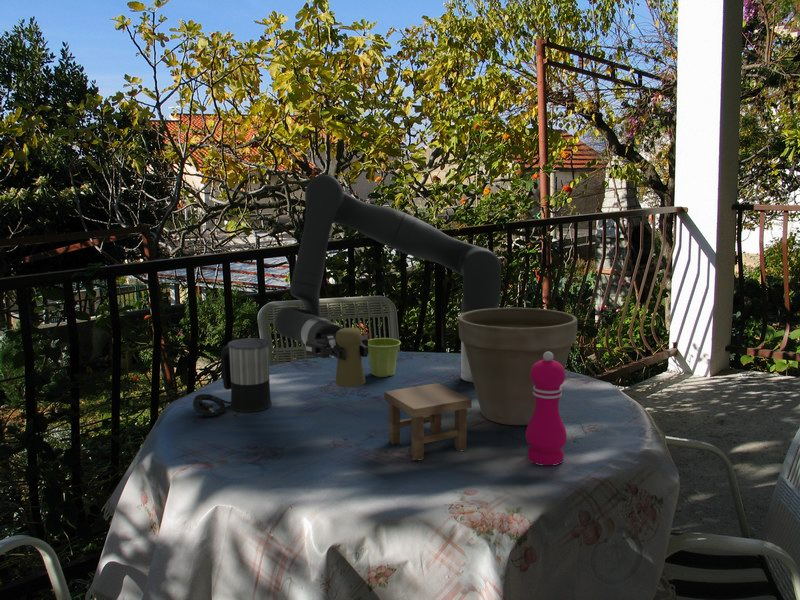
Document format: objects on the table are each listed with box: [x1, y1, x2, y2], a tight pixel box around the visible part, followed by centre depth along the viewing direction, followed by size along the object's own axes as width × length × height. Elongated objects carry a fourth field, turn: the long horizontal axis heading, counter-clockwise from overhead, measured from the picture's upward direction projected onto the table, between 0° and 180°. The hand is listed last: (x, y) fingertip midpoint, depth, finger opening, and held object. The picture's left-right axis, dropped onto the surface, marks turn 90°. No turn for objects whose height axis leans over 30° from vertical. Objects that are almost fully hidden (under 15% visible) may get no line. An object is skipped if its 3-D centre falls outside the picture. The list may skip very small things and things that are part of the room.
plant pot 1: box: [368, 337, 402, 378], centre depth 181 cm, size 9×9×9 cm
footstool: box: [383, 382, 472, 461], centre depth 131 cm, size 12×12×10 cm
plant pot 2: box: [457, 307, 578, 426], centre depth 148 cm, size 25×25×22 cm
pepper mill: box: [525, 351, 568, 465], centre depth 124 cm, size 7×7×20 cm
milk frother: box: [192, 337, 273, 417], centre depth 154 cm, size 14×16×15 cm
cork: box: [334, 327, 366, 388], centre depth 138 cm, size 6×6×11 cm
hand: (354, 353), depth 136 cm, fingers closed on cork, 4 cm apart
